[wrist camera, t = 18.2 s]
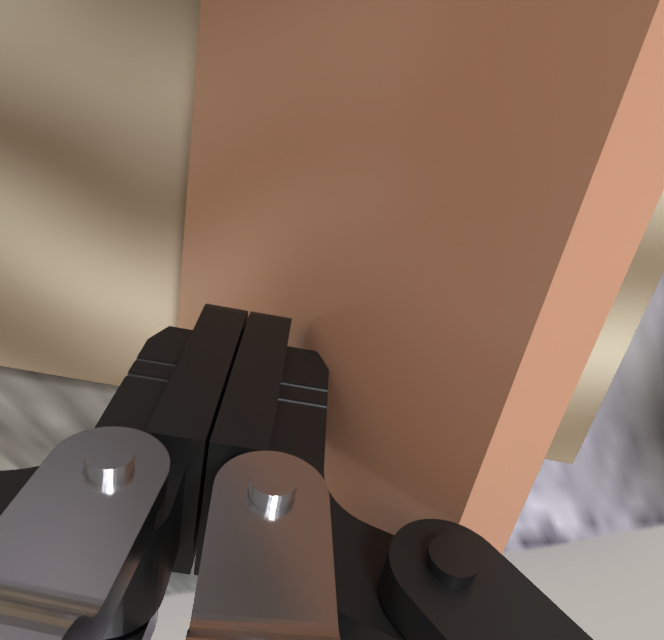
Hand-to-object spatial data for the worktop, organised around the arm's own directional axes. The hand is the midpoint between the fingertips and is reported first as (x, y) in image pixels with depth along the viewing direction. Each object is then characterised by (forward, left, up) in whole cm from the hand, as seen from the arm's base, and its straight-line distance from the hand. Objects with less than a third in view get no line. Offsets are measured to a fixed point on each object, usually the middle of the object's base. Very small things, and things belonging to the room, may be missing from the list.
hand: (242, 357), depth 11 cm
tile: (0, 0, -1) cm, 1 cm away
